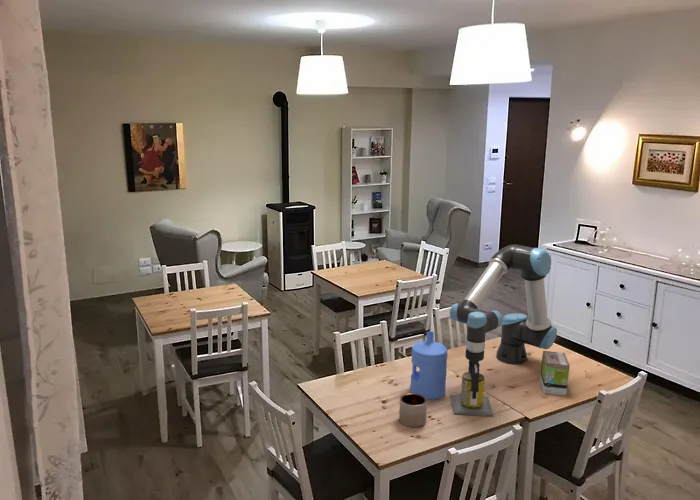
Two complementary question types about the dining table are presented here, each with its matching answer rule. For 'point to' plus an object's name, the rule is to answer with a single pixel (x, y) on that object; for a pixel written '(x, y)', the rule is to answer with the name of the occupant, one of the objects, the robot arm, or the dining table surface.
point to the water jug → (429, 368)
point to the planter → (413, 410)
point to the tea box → (554, 373)
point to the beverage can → (467, 387)
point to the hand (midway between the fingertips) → (471, 399)
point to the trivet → (464, 410)
